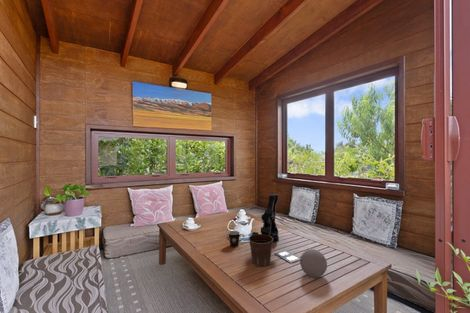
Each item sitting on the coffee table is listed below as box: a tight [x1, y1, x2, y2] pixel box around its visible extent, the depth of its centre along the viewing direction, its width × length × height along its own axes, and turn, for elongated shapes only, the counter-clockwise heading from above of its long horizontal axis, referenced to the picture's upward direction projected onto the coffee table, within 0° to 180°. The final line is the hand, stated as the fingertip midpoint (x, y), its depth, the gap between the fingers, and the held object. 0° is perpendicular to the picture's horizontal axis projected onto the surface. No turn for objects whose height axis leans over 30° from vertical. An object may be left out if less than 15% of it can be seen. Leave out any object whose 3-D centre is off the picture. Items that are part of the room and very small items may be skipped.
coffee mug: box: [228, 230, 245, 248], centre depth 180 cm, size 12×9×10 cm
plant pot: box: [248, 233, 273, 267], centre depth 152 cm, size 16×16×16 cm
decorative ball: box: [299, 248, 328, 278], centre depth 135 cm, size 15×15×15 cm
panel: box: [274, 249, 301, 264], centre depth 159 cm, size 10×16×1 cm, turn 30°
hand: (263, 248), depth 158 cm, fingers closed
